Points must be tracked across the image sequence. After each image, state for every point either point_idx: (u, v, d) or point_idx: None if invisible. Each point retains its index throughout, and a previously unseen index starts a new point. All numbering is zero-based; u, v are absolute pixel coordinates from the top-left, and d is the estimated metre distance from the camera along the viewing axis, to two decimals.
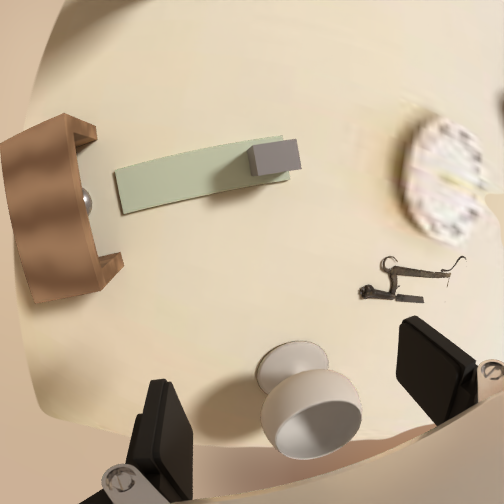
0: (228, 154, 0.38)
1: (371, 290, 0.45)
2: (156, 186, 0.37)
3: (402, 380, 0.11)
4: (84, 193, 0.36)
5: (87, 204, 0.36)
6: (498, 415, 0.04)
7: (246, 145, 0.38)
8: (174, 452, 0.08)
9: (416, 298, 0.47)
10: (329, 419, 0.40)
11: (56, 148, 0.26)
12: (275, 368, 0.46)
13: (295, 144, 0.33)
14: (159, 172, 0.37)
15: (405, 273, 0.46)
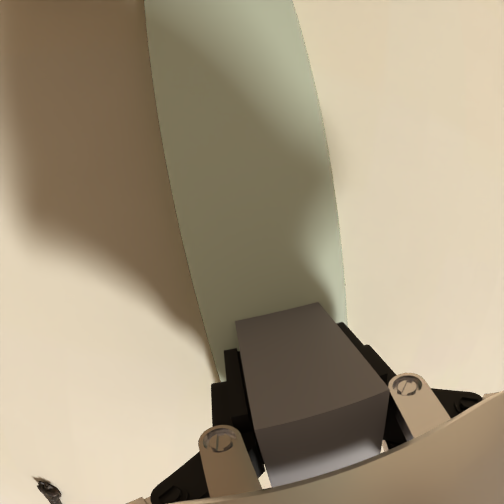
0: (308, 246, 0.12)
1: (53, 497, 0.15)
2: (208, 15, 0.09)
3: None
4: None
5: None
6: (498, 415, 0.04)
7: (331, 300, 0.12)
8: None
9: None
10: None
11: None
12: None
13: None
14: (255, 25, 0.09)
15: None
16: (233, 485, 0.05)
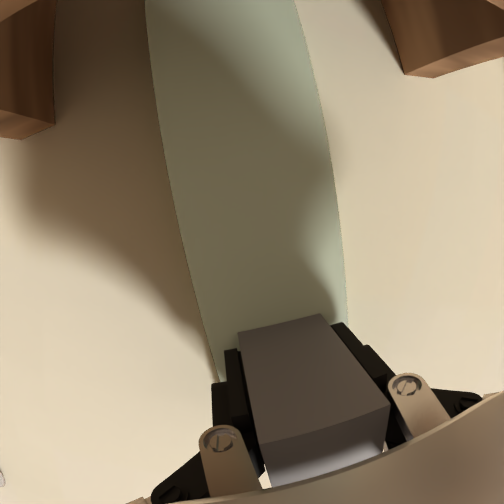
0: (310, 259, 0.12)
1: None
2: (211, 23, 0.09)
3: None
4: None
5: None
6: (498, 415, 0.04)
7: (333, 310, 0.12)
8: None
9: None
10: None
11: None
12: None
13: None
14: (258, 33, 0.09)
15: None
16: (233, 485, 0.05)
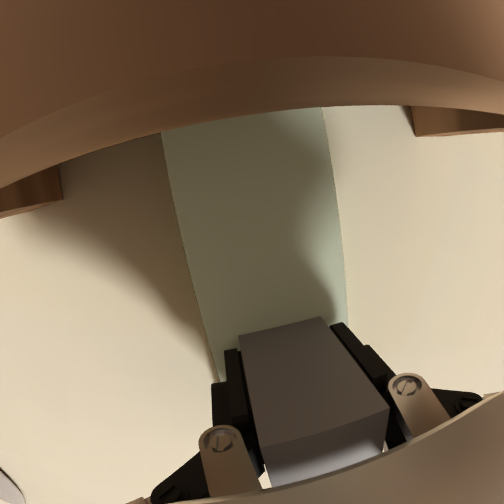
0: (310, 262, 0.12)
1: None
2: None
3: None
4: None
5: None
6: (498, 415, 0.04)
7: (333, 314, 0.12)
8: None
9: None
10: None
11: None
12: None
13: None
14: None
15: None
16: (233, 485, 0.05)
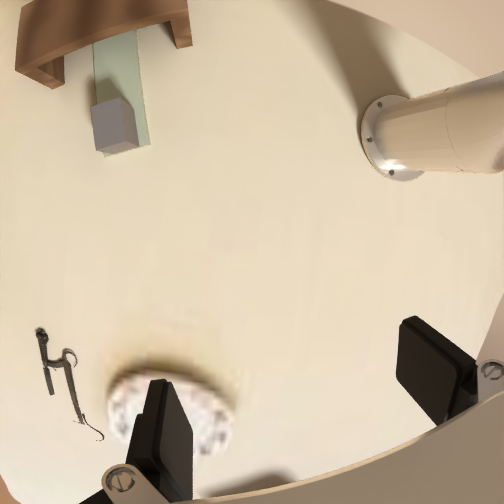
0: (130, 92, 0.31)
1: (43, 340, 0.37)
2: None
3: (402, 380, 0.11)
4: None
5: None
6: (498, 415, 0.04)
7: (138, 108, 0.32)
8: (174, 452, 0.08)
9: (52, 389, 0.40)
10: None
11: (150, 5, 0.21)
12: None
13: (120, 140, 0.27)
14: (122, 35, 0.29)
15: (67, 375, 0.39)
16: None
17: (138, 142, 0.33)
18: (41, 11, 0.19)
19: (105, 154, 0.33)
